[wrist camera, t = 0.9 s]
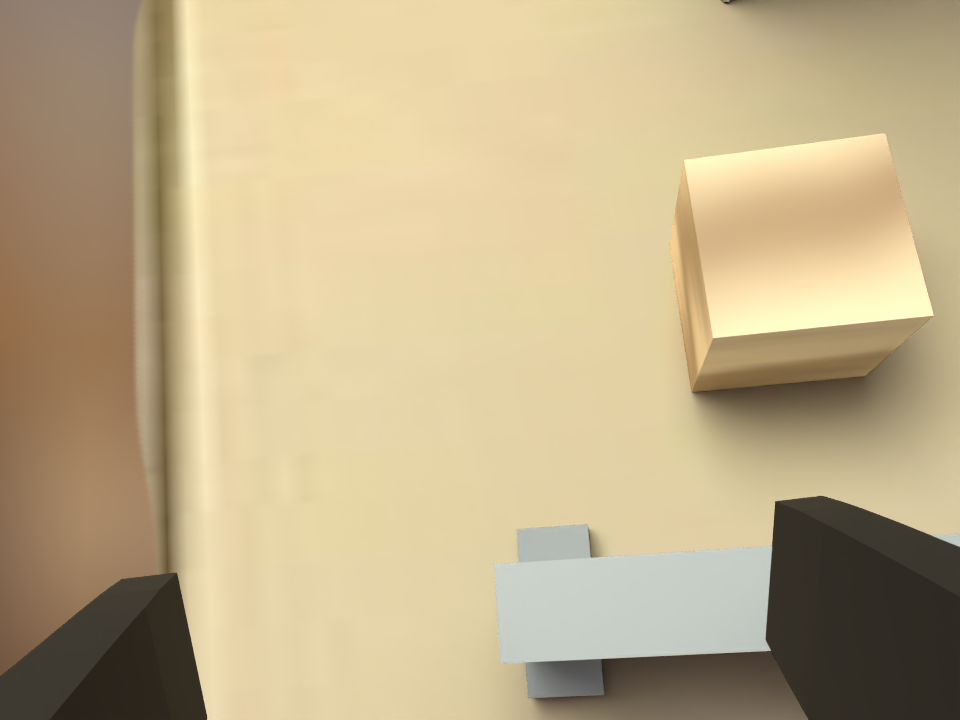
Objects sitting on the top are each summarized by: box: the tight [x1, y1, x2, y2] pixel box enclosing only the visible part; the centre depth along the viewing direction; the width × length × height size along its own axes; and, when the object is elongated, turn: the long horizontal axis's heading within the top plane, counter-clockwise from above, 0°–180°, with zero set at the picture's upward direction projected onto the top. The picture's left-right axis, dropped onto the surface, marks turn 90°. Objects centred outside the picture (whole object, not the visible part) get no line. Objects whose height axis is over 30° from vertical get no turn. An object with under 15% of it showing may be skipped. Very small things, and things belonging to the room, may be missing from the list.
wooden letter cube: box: [669, 133, 934, 392], centre depth 21 cm, size 5×5×5 cm
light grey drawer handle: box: [494, 524, 960, 698], centre depth 18 cm, size 4×16×6 cm, turn 93°
